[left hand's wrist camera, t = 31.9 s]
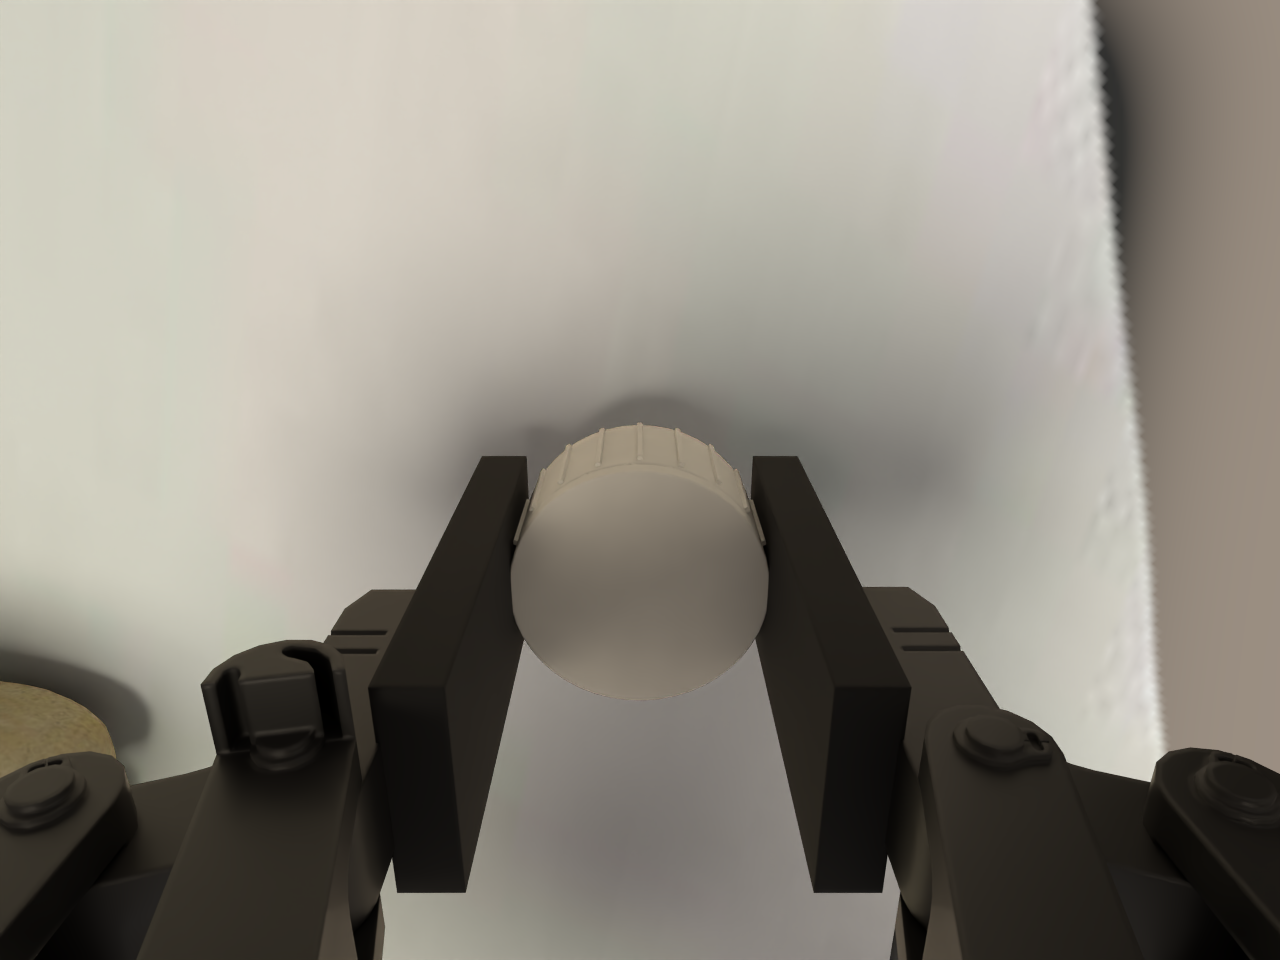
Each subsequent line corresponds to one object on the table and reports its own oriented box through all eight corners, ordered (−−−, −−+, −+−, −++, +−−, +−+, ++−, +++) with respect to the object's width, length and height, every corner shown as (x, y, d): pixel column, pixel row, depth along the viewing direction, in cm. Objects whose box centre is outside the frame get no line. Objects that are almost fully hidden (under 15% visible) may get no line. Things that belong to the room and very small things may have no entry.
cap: (548, 643, 16) (535, 718, 14) (501, 440, 14) (478, 489, 12) (766, 614, 15) (785, 686, 13) (741, 404, 14) (758, 449, 12)
